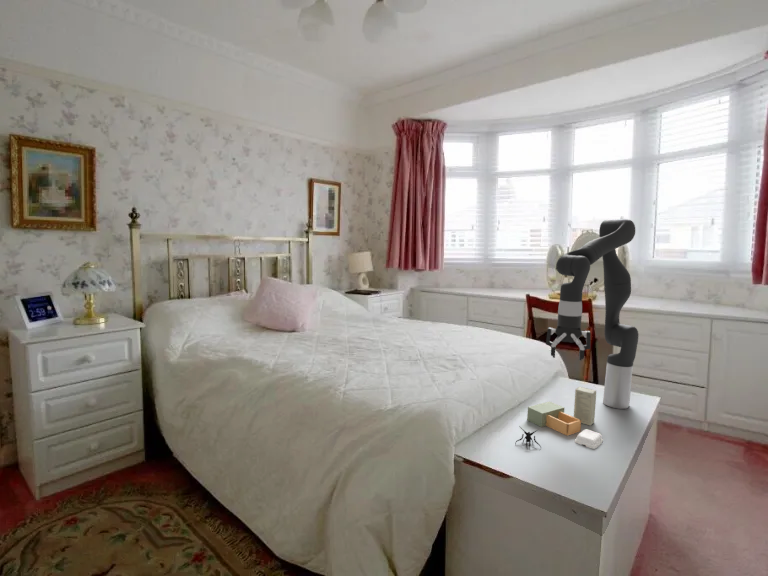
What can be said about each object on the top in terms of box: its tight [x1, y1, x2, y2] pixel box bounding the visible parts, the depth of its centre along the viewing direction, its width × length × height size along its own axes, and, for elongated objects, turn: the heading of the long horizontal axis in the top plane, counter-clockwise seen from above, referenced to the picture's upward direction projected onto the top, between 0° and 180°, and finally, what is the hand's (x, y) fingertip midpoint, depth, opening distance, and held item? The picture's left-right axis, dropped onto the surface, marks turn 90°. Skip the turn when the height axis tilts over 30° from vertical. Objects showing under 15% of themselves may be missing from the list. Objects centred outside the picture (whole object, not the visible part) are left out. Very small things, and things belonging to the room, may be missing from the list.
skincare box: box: [573, 386, 597, 426], centre depth 155 cm, size 6×4×12 cm
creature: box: [514, 425, 542, 451], centre depth 135 cm, size 8×5×8 cm
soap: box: [574, 428, 604, 450], centre depth 140 cm, size 9×7×3 cm
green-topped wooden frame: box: [526, 401, 582, 437], centre depth 151 cm, size 12×15×5 cm
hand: (566, 358), depth 149 cm, fingers open, 8 cm apart
